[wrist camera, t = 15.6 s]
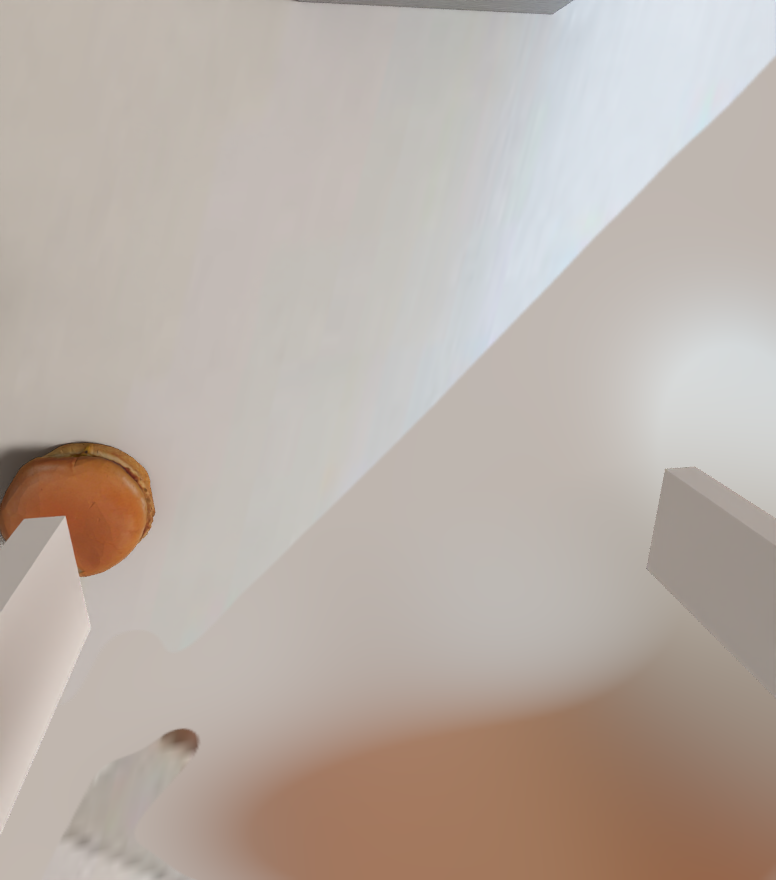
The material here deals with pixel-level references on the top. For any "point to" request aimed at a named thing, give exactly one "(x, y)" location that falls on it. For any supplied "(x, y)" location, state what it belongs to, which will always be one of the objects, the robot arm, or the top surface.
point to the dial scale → (466, 4)
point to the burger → (84, 501)
